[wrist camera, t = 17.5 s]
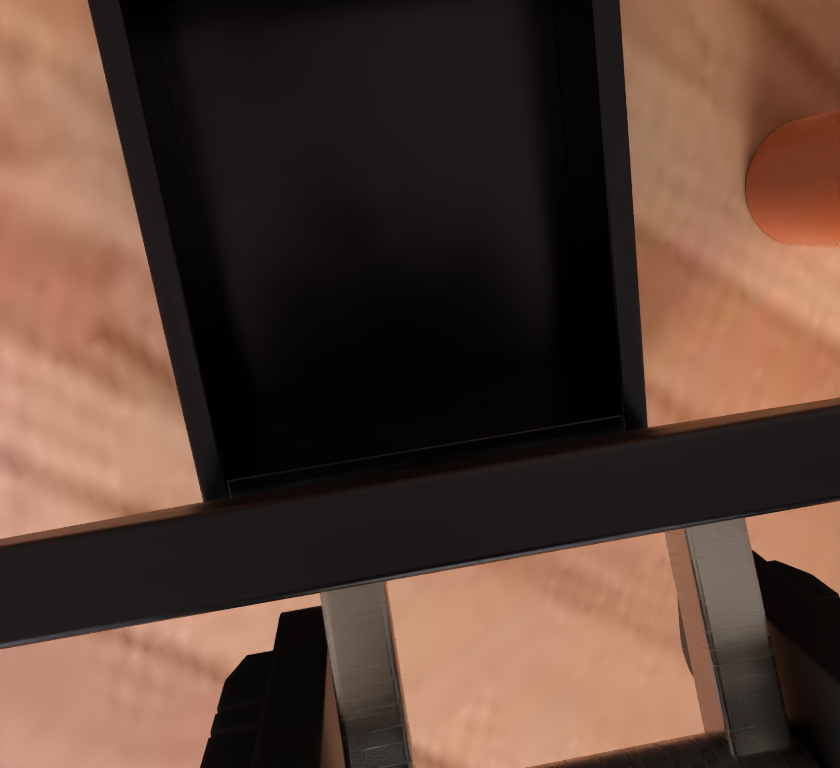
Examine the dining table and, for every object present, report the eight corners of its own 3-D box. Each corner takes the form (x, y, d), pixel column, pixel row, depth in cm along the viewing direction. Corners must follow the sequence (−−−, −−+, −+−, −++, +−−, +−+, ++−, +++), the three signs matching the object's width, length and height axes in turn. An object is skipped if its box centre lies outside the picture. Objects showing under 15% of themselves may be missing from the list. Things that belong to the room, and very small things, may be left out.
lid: (-456, 621, 5) (-433, 1401, 5) (1418, 306, 6) (1623, 925, 6) (199, 502, 24) (220, 660, 23) (652, 426, 25) (682, 576, 24)
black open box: (125, -14, 25) (71, -69, 20) (563, -67, 26) (611, -132, 21) (228, 461, 29) (204, 509, 24) (601, 400, 30) (649, 434, 25)
